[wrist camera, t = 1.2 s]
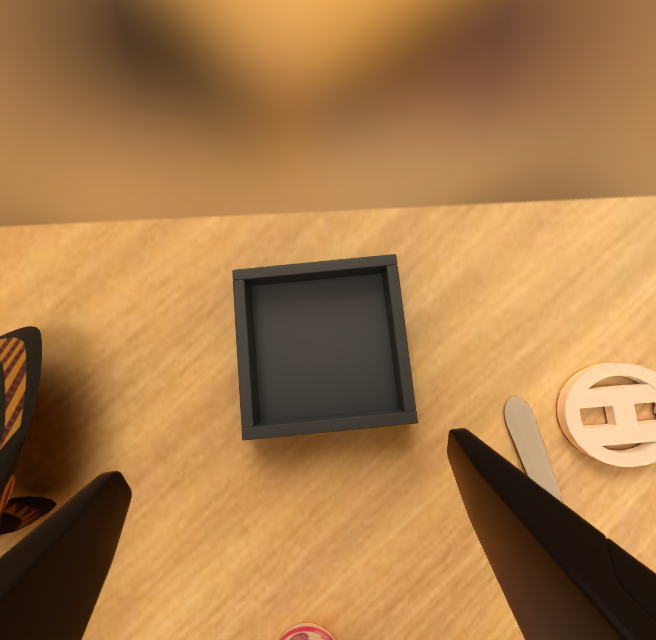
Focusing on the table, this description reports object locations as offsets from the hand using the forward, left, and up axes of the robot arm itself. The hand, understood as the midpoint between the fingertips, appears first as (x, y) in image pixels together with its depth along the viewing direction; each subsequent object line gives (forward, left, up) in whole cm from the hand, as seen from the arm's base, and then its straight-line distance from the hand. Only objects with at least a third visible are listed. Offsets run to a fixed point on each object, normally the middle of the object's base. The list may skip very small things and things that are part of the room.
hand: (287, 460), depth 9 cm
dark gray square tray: (+3, -2, -15) cm, 15 cm away
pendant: (-10, -21, -15) cm, 28 cm away
